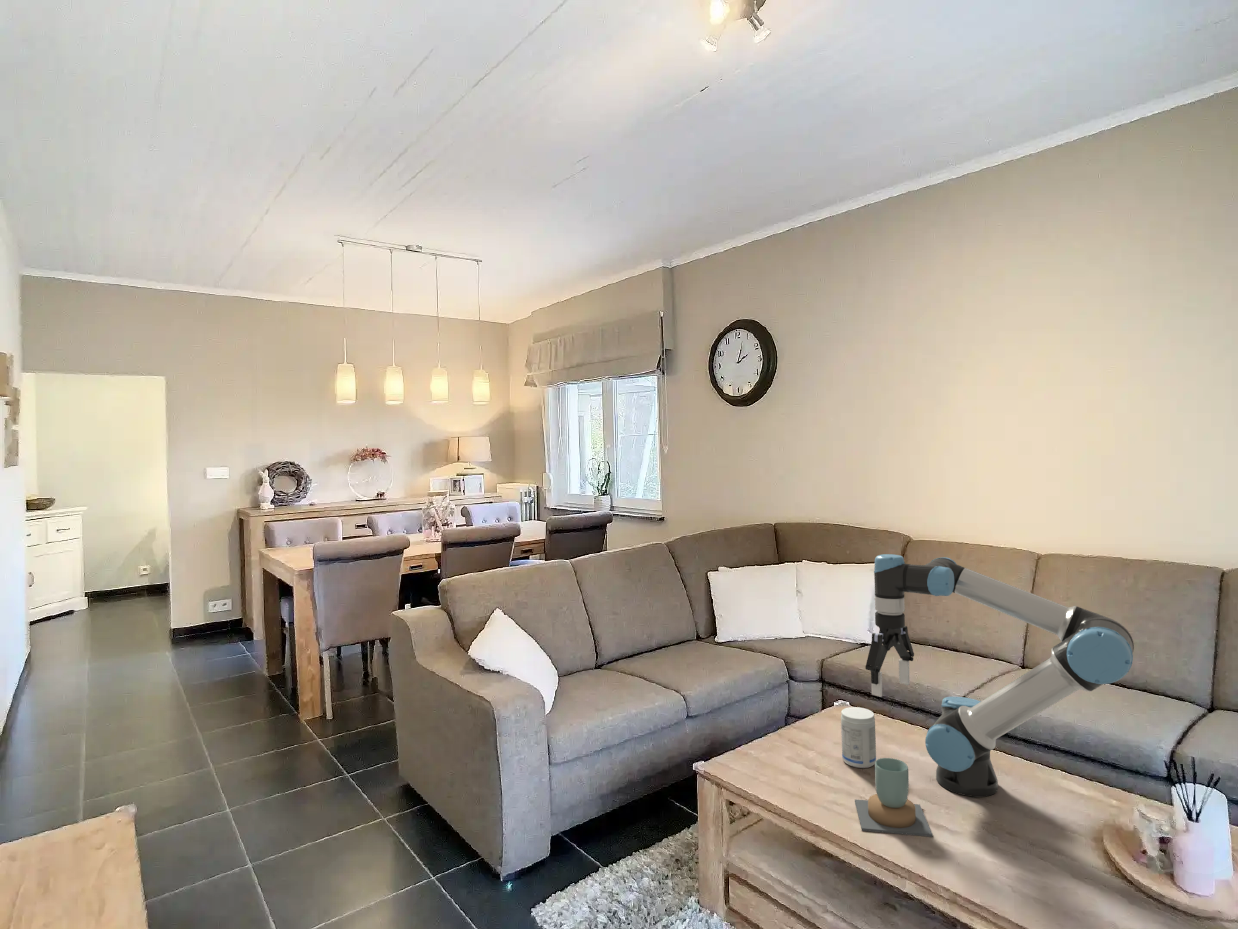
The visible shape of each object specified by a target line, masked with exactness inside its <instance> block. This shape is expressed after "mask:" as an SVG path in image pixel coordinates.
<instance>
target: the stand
mask: <svg viewBox="0 0 1238 929" xmlns="http://www.w3.org/2000/svg"><path fill="white" fill-rule="evenodd" d="M854 804H855V808H856V813H857V817H858V821H859V824H860V828H861V829H860V830H861V831H863V832H873V833H884V834H885V833H886V834H897V835H906V836H907V835H909V836H916V837H917V836H920V837H931V838H933V836H934V835H933V832H932V830H931V827H930V826H929V823H928V821H927V818H926V816H925V814H924V811H923V808H922V806H921V804H917V803H914V802H913V801H911V800H910V799H909V798H907V802H906V804H905V805H904V806H903V807H901V808H890V807H887V806H885V805H883V804H882V803H881V802H880V801H879V799H878V796H877V793H875V794H872V795H871V796H869V797H868V799H867V800H866V799H857V798H856V799H854Z"/></svg>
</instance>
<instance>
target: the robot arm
mask: <svg viewBox="0 0 1238 929" xmlns="http://www.w3.org/2000/svg"><path fill="white" fill-rule="evenodd" d="M873 573H874V574H873V576H874V610H875V612H874V625H875V626H876V627H878V628H879V631H878V633H876V632H872V634H871V644H870V647H869V650H868V653H867V654H868V655H867V660H866V663H865V670H866V671H870V682H871V684H870V685H871V686H870V687H871V688H870V689H871V695H872V696H876V697H880V698H882V697H883V672H882V671H881V669H882V666H883V664H884V661H885V659H886V657H887V654H888V652H889V651H891V648H894V649H895V652H896V653H897V654H898V656H899V657H900V659H898V683H899V684H902V685H905V686H910V684H911V683H910V662H913V661H914V656H915V652H914V649H913V646H912V642H911V639H910V636H909V632H908V631H909V630H908V626H907V625H905V624H906V622H905V621H906V620H905V618H906V617H905V613H904V612H905V610H906V609H905V607H906V606H905V605H906V604H905V593H912V594H921V595H929V596H934V597H949V596H951V595H952V594H956V595H959V596H961V597H964V598H966V599H969V600H971V601H974V602H975V603H978V604H981V605H983V606H986V607H988V608H990V609H993V610H995V611H998V612H1000V613H1002V614H1005V615H1007V616H1010V617H1012V618H1014V619H1016V620H1018V621H1019V620H1020V621H1022V622H1024V623H1027V624H1029V625H1031V626H1034V627H1036V628H1038V629H1041V630H1043V631H1046V632H1049V633H1051V634H1054V635H1056V636H1057V637H1058V638H1059V641H1060V642H1059V643H1057V644H1056V645H1054V646H1053V647H1051V651H1050V657H1049V658H1048V659H1046V660H1045V661H1043V662H1041V663H1040V664H1038V665H1036V666H1035V667H1033V668H1031V669H1030V670H1028V671H1027V672H1026V673H1024V674H1022V675H1021V676H1019V677H1018V678H1016V679H1014V680H1013V681H1011V682H1010V683H1008V684H1007V685H1005V686H1003V687H1002V688H1000V689H999V690H997V691H996V692H994V693H992V694H991V695H989V696H988V697H986V698H985V699H983V700H978V699H974V698H970V697H962V696H946V697H944V698H943V699H942V700H941V701H942V702H941V705H940V706H941V711H942V712H941V715H940V716H939V718H938V719H937V720H936V721H935V722H934V724H932V725H931V726H930V727H929V728H928V730H927V732H926V736H925V740H924V742H925V748H926V751H927V753H928V755H929V757H930V759H932V761H933V762H935V763H936V765H937V766H936V770H935V779H936V782H937V783H938V784H939V785H940V786H941V787H942V788H944V789H946V790H948V791H950V792H953V793H955V794H959V795H963V796H969V797H975V798H976V797H981V798H982V797H989V796H992V795H995V794H996V793H997V792H998V790H999V780H998V777H997V774H996V772H995V769H994V766H993V764H992V761H991V751H992V750H994V749H995V748H996V742H997V739H999V738H1000V737H1002V736H1004V735H1005V734H1007V733H1009V732H1011V731H1012V730H1014V729H1016V728H1017V727H1019V726H1020V725H1023V723H1026V722H1027V721H1029V720H1030V719H1032V718H1034V717H1035V716H1037V715H1039V714H1041V713H1042V712H1044V711H1046V710H1047V709H1049V708H1050V707H1052V706H1054V705H1056V704H1057V703H1059V702H1060V701H1063V700H1064V699H1066V698H1067V697H1069V696H1071V695H1072V694H1074V693H1077V691H1079V690H1080V691H1085V692H1089V693H1090V692H1093V691H1094V690H1096V689H1098V688H1100V687H1101V686H1103V685H1108V684H1113V683H1116V682H1118V681H1120V680H1122V679H1123V678H1124V677H1125V676H1126V675H1128V673H1129V672H1130V670H1131V668H1132V665H1133V661H1134V654H1133V653H1134V650H1135V646H1134V644H1135V643H1134V639H1133V636H1132V635H1131V633H1130V631H1129V630H1128V629H1127V628H1126V627H1125V626H1124V625H1123V624H1122V623H1120V622H1118V621H1116V620H1114V619H1112V618H1110V617H1107V616H1104V615H1103V614H1099V613H1097V612H1093V611H1091V610H1087V609H1085V608H1082V607H1081V606H1077V605H1073V606H1070V607H1069V606H1065V605H1063V604H1061V603H1058V602H1055V601H1053V600H1050V599H1048V598H1045V597H1042V596H1039V595H1037V594H1034V593H1032V592H1029V591H1028V590H1025V589H1022V588H1019V587H1016V586H1014V585H1011V584H1010V583H1009V584H1008V583H1006V582H1004V581H1001V580H998V579H995V578H992V577H990V576H988V575H985V574H983V573H980V572H977V571H975V570H972V569H969V568H968V567H964V566H962V565H959V564H957V563H956V561H955V560H953V559H951V558H949V557H946V556H945V557H937V558H934V559H932V560H931V561H930V562H928V563H926V564H911V563H905V558H904V557H903V556H902V555H900V554H891V553H885V554H878V555H876V557H875V558H874V570H873Z"/></svg>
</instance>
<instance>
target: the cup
mask: <svg viewBox="0 0 1238 929" xmlns="http://www.w3.org/2000/svg"><path fill="white" fill-rule="evenodd" d="M909 781H910V780H909V767H908V765H907V763H906V762H904V761H903V760H900V759H897V758H892V757H891V758H890V757H882V758H881V757H880V758H877V759H876V762H875V764H874V783H875V784H874V785H875V791H876V792H875V793H876V794H877V796H878V799H879V801H880V802H881V803H882V804H883V805H885V806H887V807H890V808H901V807H903V806H904V805H905V804H906V802H907V799H909V798H908V796H909V787H910V786H909V785H910V784H909Z"/></svg>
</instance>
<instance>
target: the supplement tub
mask: <svg viewBox="0 0 1238 929" xmlns="http://www.w3.org/2000/svg"><path fill="white" fill-rule="evenodd" d="M840 714H841V715H840V726H841V728H840V729H841V732H840V734H841V756H842V761H844V763H845V764H847V765H848V766H851V767H853V768H857V769H858V768H859V769H868V768H871V767H874V766H875V762H876V760H877V743H876V718H875V713H874V712H873V711H872V710H870V709H868V708H864V707H859V706H857V707H856V706H849V707H845V708H843V709H842V710H841V712H840Z"/></svg>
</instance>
